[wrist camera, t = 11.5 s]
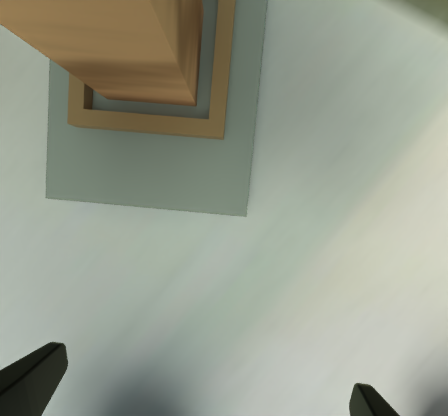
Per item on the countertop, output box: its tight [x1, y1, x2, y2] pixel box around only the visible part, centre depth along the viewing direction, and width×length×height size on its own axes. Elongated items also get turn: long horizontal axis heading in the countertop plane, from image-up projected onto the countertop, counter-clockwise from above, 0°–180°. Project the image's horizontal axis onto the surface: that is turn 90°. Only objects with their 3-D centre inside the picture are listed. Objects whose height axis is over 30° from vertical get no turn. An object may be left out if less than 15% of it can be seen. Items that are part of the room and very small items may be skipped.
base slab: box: [46, 0, 267, 217], centre depth 17 cm, size 20×14×3 cm
